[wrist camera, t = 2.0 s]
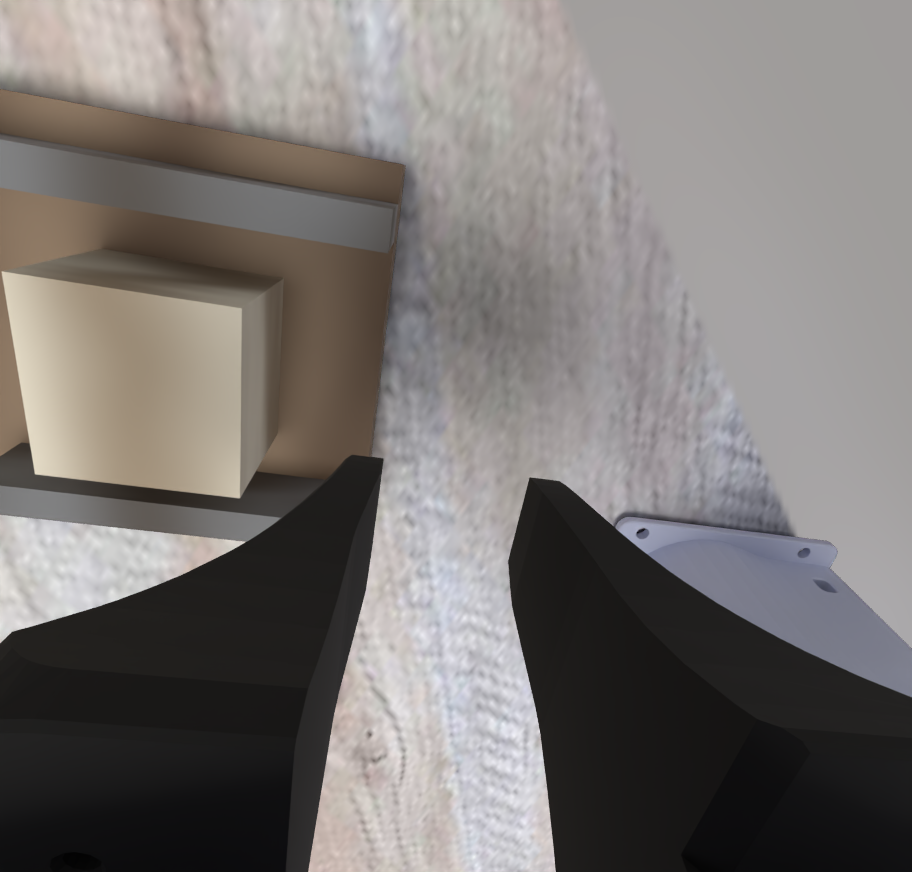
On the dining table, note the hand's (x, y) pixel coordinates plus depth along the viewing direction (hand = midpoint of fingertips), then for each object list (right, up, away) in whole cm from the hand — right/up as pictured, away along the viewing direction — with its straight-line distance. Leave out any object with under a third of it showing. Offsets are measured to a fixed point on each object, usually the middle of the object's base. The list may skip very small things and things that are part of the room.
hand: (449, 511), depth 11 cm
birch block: (-8, +4, +6) cm, 11 cm away
